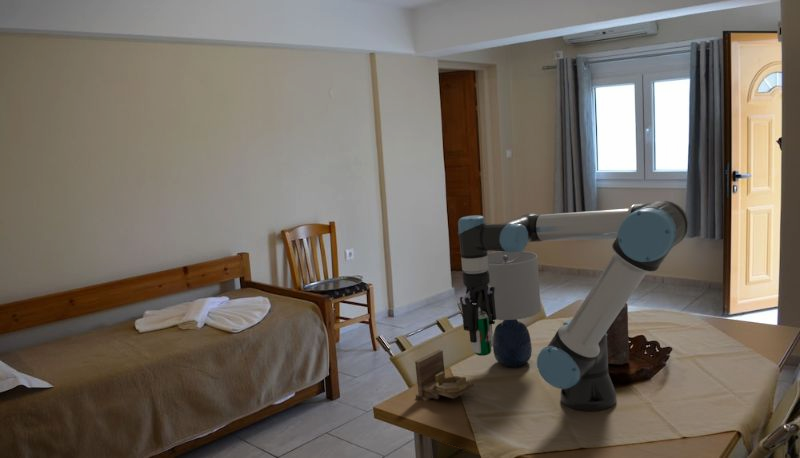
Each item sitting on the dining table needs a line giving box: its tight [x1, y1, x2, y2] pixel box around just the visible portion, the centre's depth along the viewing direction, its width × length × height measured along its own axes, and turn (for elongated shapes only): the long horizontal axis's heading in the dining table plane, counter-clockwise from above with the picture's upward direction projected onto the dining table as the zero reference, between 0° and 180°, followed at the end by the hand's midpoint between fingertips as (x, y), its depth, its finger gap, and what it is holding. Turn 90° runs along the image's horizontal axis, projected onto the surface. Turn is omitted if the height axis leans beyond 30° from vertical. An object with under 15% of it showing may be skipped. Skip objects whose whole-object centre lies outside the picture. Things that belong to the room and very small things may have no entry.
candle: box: [606, 302, 630, 366], centre depth 206 cm, size 8×7×20 cm
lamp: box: [478, 250, 542, 368], centre depth 214 cm, size 20×20×37 cm
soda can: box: [473, 311, 492, 357], centre depth 186 cm, size 5×5×12 cm
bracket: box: [414, 349, 475, 402], centre depth 194 cm, size 14×11×12 cm
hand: (482, 348), depth 186 cm, fingers closed on soda can, 5 cm apart
